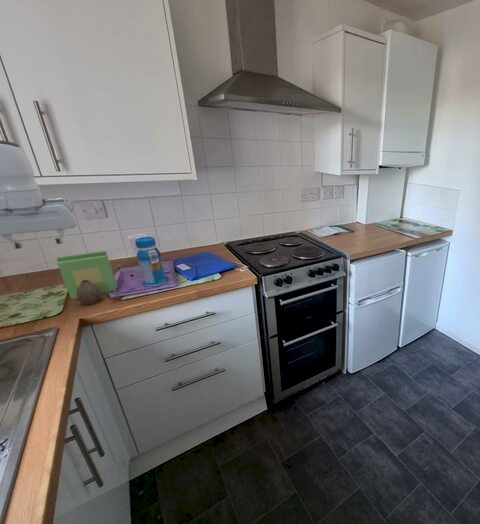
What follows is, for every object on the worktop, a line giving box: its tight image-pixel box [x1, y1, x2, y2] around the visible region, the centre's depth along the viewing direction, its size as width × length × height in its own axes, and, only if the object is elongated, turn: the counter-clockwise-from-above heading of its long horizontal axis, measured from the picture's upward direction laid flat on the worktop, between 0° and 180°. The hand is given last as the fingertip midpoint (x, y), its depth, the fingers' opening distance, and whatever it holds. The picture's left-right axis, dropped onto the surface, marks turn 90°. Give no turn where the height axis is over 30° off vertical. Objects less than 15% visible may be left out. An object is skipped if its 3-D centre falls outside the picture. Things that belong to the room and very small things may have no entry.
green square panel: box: [56, 250, 118, 300], centre depth 117 cm, size 14×5×16 cm, turn 122°
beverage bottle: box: [134, 236, 167, 288], centre depth 125 cm, size 8×8×20 cm
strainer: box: [127, 233, 147, 256], centre depth 148 cm, size 7×7×15 cm
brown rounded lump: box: [77, 280, 102, 306], centre depth 112 cm, size 7×7×9 cm
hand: (40, 245), depth 91 cm, fingers open, 8 cm apart
